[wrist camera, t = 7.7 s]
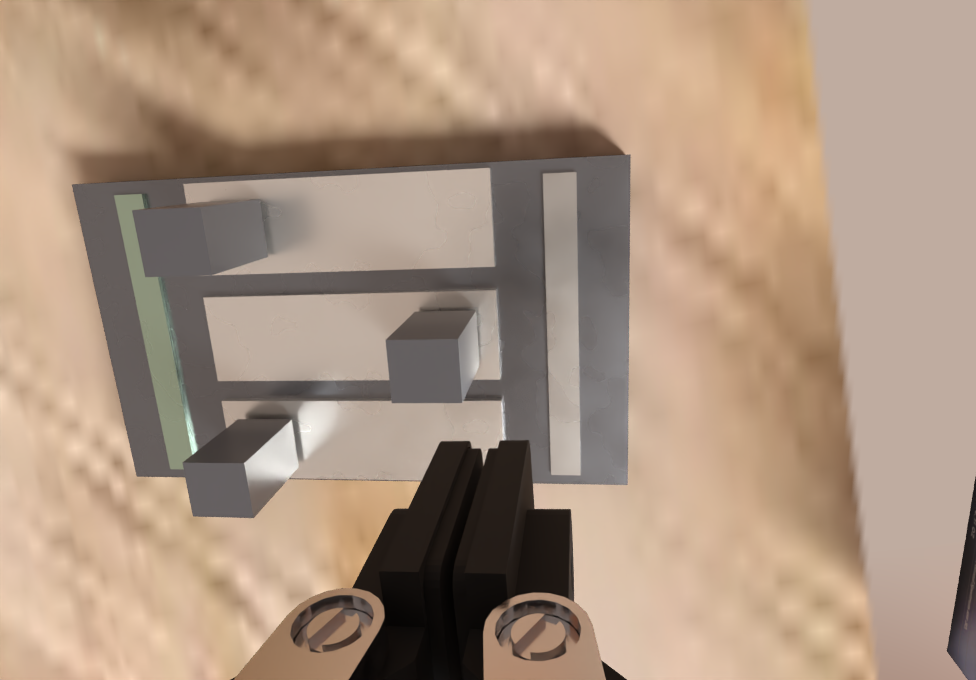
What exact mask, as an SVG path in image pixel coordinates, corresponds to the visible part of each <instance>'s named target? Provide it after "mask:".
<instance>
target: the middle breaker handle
mask: <svg viewBox="0 0 976 680" xmlns="http://www.w3.org/2000/svg"><path fill="white" fill-rule="evenodd" d="M386 350H387V361H388V371H389V381H390V391H391V401H392V403H463V400H464V398H465V396H466V394H467V392H468V389H469V387H470V385H471V383H472V381H473V378H474V376H475V374H476V372H477V370H478V368H479V348H478V331H477V314H476V310H470V311H422V312H414V313H413V314H412V315H411V316H410V317H409V318H408V319H407V320H406V321H405V322H404V323H403V324H402V325H401V326H400V327H399V328H397V329H396V330H395V331H394V332H393V333H392V334H391V335H390V336H389V337H388V338H387V339H386Z"/></svg>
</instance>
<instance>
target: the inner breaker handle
mask: <svg viewBox="0 0 976 680" xmlns="http://www.w3.org/2000/svg"><path fill="white" fill-rule="evenodd" d="M182 463H183V468H184V473H185V478H186V483H187V488H188V493H189V498H190V503H191V508H192V513H193V516H199V517H237V518H254V517H255V516H256V515H257V514H258V512H259V511H260V510H261V509H262V508H263V507H264V506H265V505H266V503H267V502H268V501H269V500H270V499H271V498H272V497H273V496H274V495H275V493H276V492H277V491H278V490H279V489H280V488H281V487H282V486H283V484H284V483H285V482H286V481H287V480H288V479H289V478H290V477H291V475H292V474H293V473H294V472H295V471H296V470H297V469H298V468H299V465H298V458H297V451H296V444H295V437H294V431H293V424H292V419H238V420H236V421H235V422H234V423H233V424H231V425H230V426H229V427H227V428H226V429H225V430H224V431H222V432H221V433H220V434H218V435H217V436H216V437H215V438H213V439H212V440H211V441H209V442H208V443H207V444H206V445H204V446H203V447H202V448H200V449H199V450H198V451H197V452H195V453H194V454H193V455H191V456H190V457H189V458H188V459H186V460H185V461H184V462H182Z"/></svg>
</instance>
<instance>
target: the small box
mask: <svg viewBox="0 0 976 680" xmlns="http://www.w3.org/2000/svg"><path fill="white" fill-rule="evenodd" d="M947 652H948V653H949V655H950V656H951V657H952V659H953V660H954V662H955V663H956V664H957V665H958V667H959V668H960V669H961V671H962V672H963V674H964V675H965V677H966V678H967V679H968V680H976V479H975V484H974V491H973V497H972V502H971V510H970V516H969V522H968V527H967V534H966V540H965V545H964V552H963V558H962V565H961V570H960V576H959V583H958V588H957V595H956V601H955V607H954V612H953V619H952V624H951V631H950V636H949V643H948V648H947Z"/></svg>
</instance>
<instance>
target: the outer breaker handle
mask: <svg viewBox="0 0 976 680" xmlns="http://www.w3.org/2000/svg"><path fill="white" fill-rule="evenodd" d="M132 213H133V218H134V223H135V228H136V233H137V238H138V243H139V248H140V253H141V258H142V263H143V268H144V273H145V277H170V276H203V275H214V274H217V273H220V272H224V271H227V270H230V269H233V268H236V267H239V266H242V265H245V264H248V263H251V262H254V261H257V260H260V259H264V258H267V257H268V252H267V245H266V238H265V232H264V225H263V218H262V211H261V204H260V199H252V200H232V201H211V202H197V203H188V204H180V205H171V206H163V207H155V208H146V209H138V210H132Z"/></svg>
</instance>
